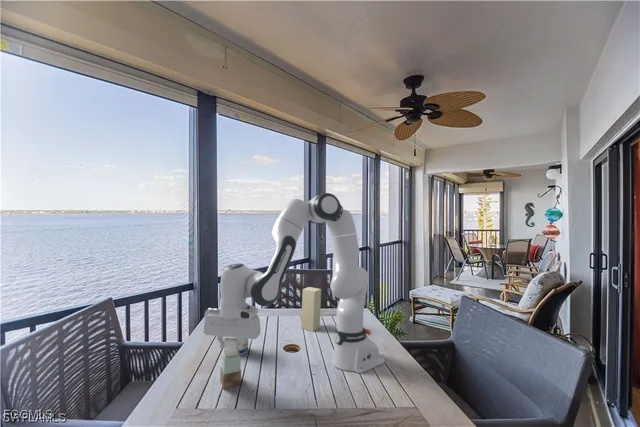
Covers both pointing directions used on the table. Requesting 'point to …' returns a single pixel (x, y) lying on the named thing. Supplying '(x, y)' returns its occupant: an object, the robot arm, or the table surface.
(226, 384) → the tower base
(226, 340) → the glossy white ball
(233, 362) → the tower top
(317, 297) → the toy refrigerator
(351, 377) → the table surface
